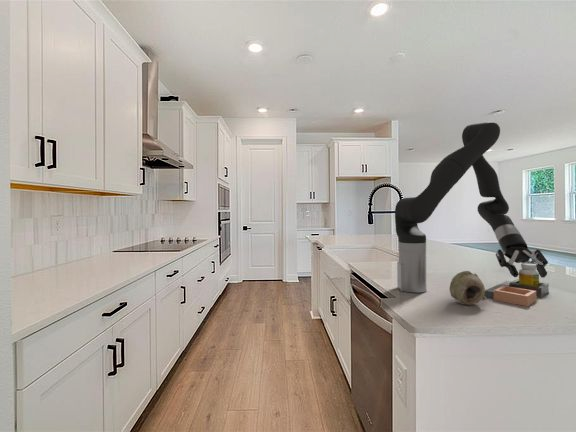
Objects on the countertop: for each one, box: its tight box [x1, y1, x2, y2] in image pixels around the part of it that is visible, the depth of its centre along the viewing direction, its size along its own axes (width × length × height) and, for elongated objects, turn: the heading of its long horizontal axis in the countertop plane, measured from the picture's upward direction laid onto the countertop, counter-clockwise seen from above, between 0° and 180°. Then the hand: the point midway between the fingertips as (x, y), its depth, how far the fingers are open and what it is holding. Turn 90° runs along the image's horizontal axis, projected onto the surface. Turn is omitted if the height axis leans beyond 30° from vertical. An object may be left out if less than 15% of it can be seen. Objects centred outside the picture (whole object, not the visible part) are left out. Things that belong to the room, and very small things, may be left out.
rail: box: [484, 278, 550, 299], centre depth 98 cm, size 21×12×3 cm, turn 127°
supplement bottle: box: [518, 263, 540, 287], centre depth 101 cm, size 5×5×10 cm
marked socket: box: [493, 286, 537, 307], centre depth 92 cm, size 9×9×3 cm
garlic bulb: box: [449, 270, 487, 307], centre depth 90 cm, size 9×8×10 cm
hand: (530, 276), depth 100 cm, fingers open, 8 cm apart
